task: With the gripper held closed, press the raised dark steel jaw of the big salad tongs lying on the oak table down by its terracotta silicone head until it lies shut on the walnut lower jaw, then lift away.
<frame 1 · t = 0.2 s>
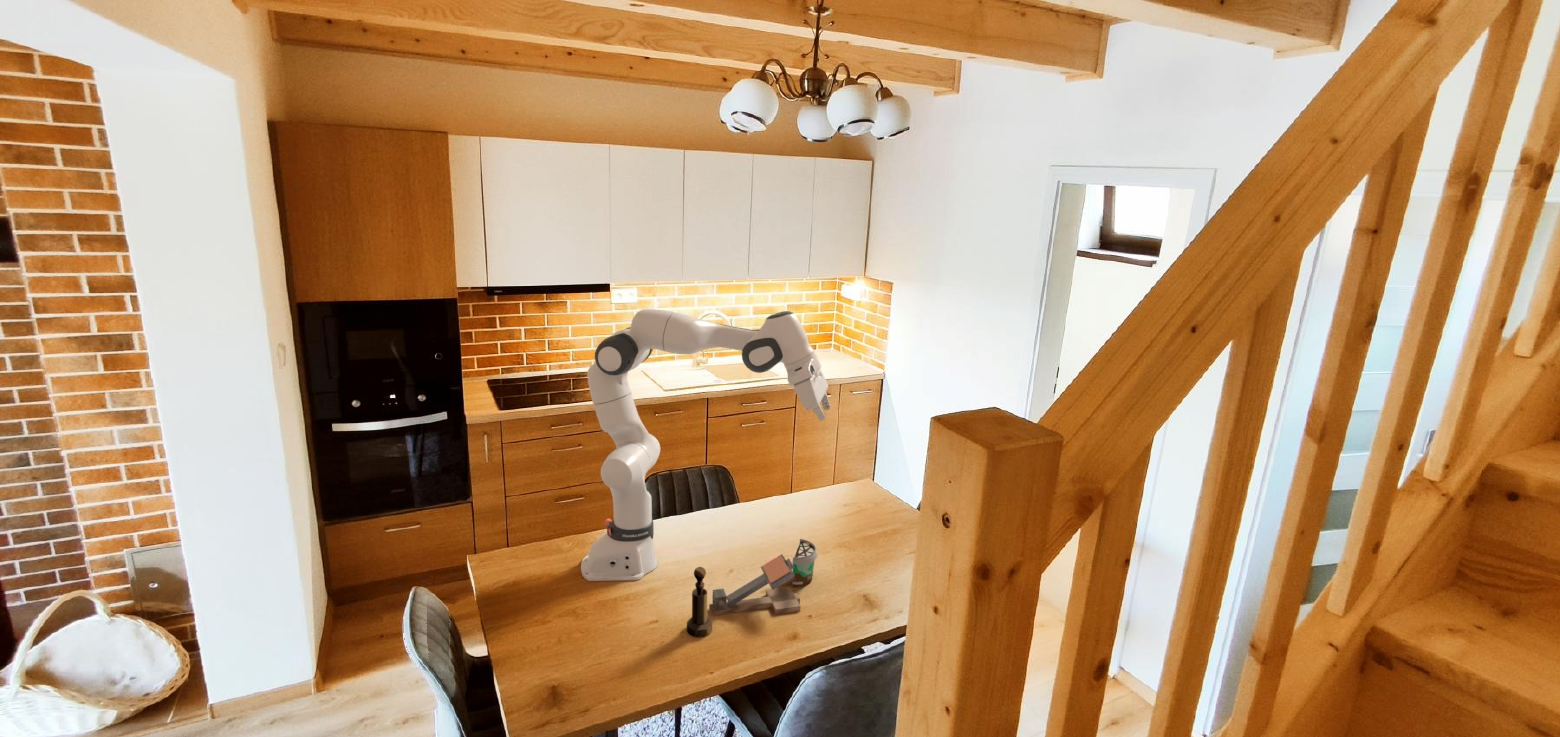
hand: (825, 414, 197), 54 cm above the table, tool tilted 30°, fingers open, 8 cm apart
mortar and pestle: (699, 630, 191), on the table
walnut jaw: (754, 606, 203), on the table
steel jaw: (759, 581, 201), point 7 cm above the table, hinge at 28.0°
food container: (805, 580, 217), on the table
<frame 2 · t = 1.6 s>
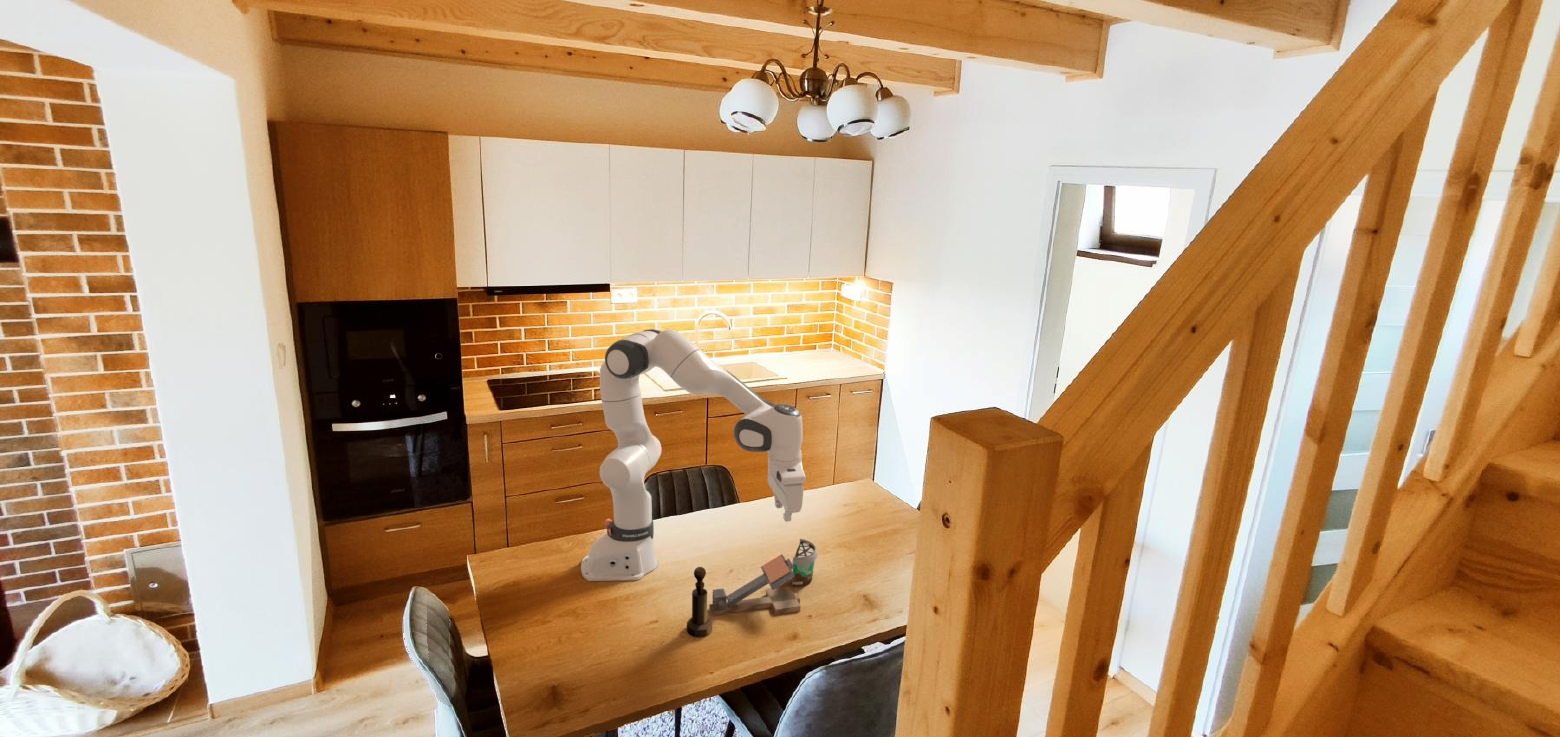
hand: (782, 513, 198), 27 cm above the table, tool pointing down, fingers open, 7 cm apart
nothing on the table moved.
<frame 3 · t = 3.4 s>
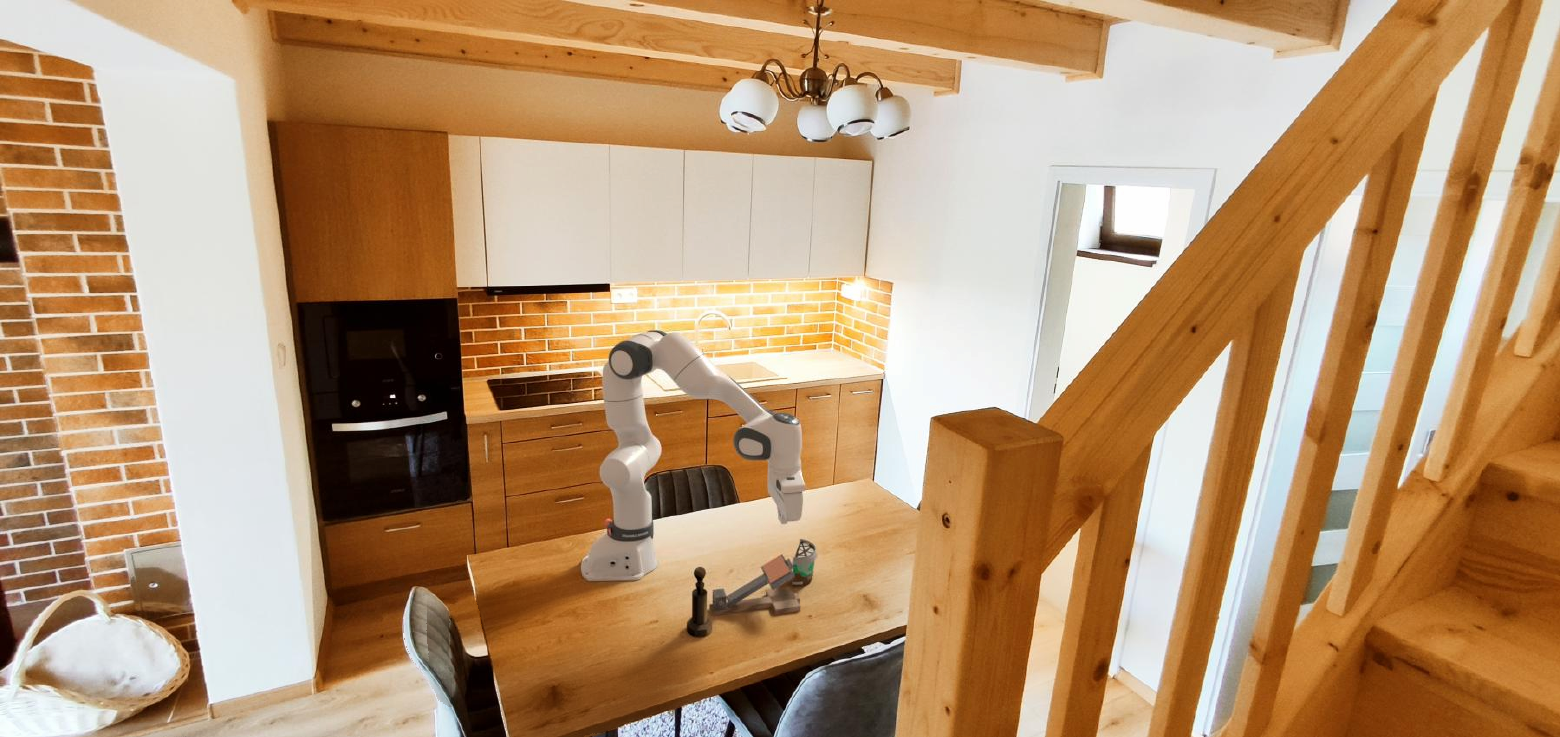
hand: (782, 521, 198), 25 cm above the table, tool pointing down, fingers closed
nothing on the table moved.
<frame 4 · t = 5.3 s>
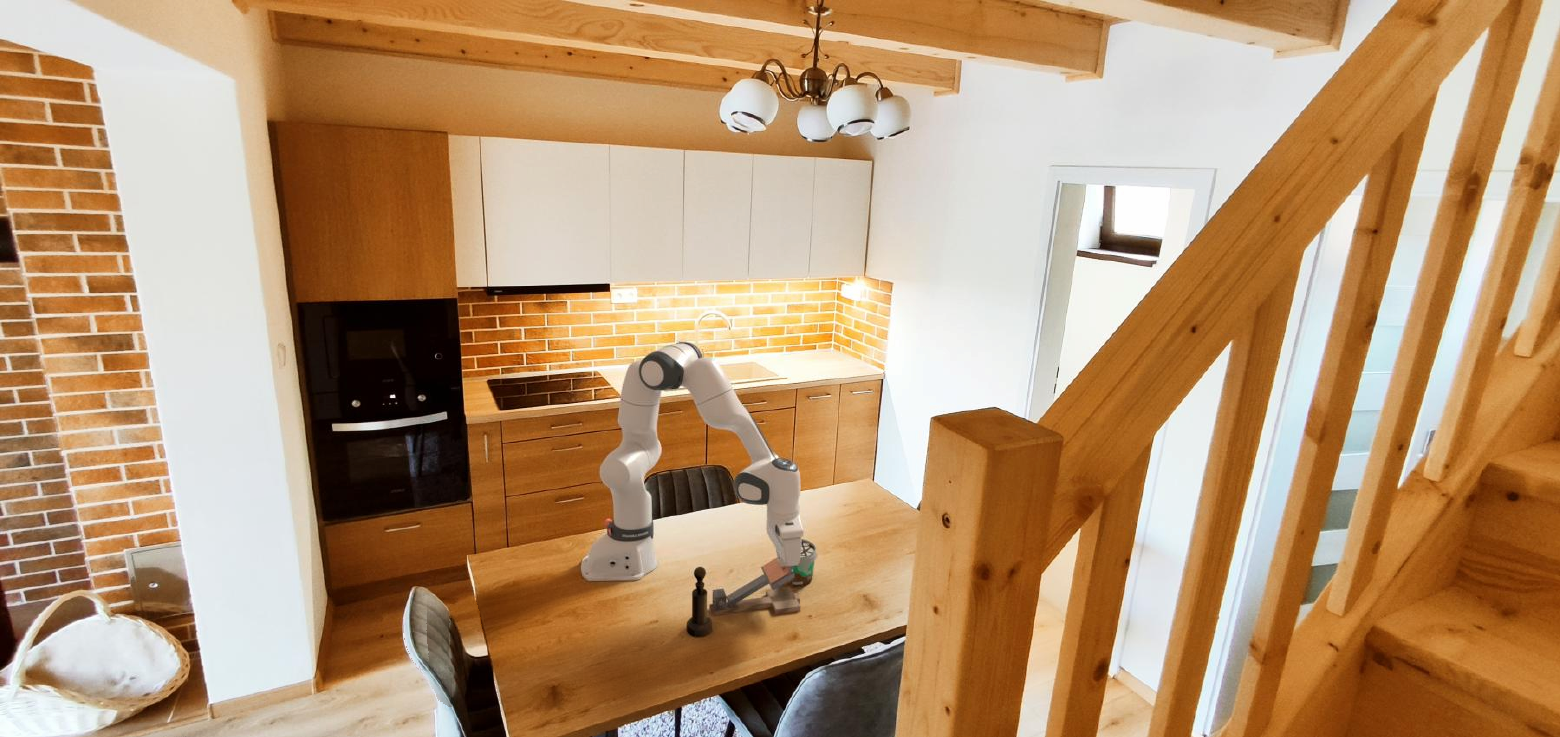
hand: (781, 564, 201), 12 cm above the table, tool pointing down, fingers closed, pressing on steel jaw
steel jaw: (760, 582, 201), point 7 cm above the table, hinge at 27.4°, touching gripper
everything else where it was.
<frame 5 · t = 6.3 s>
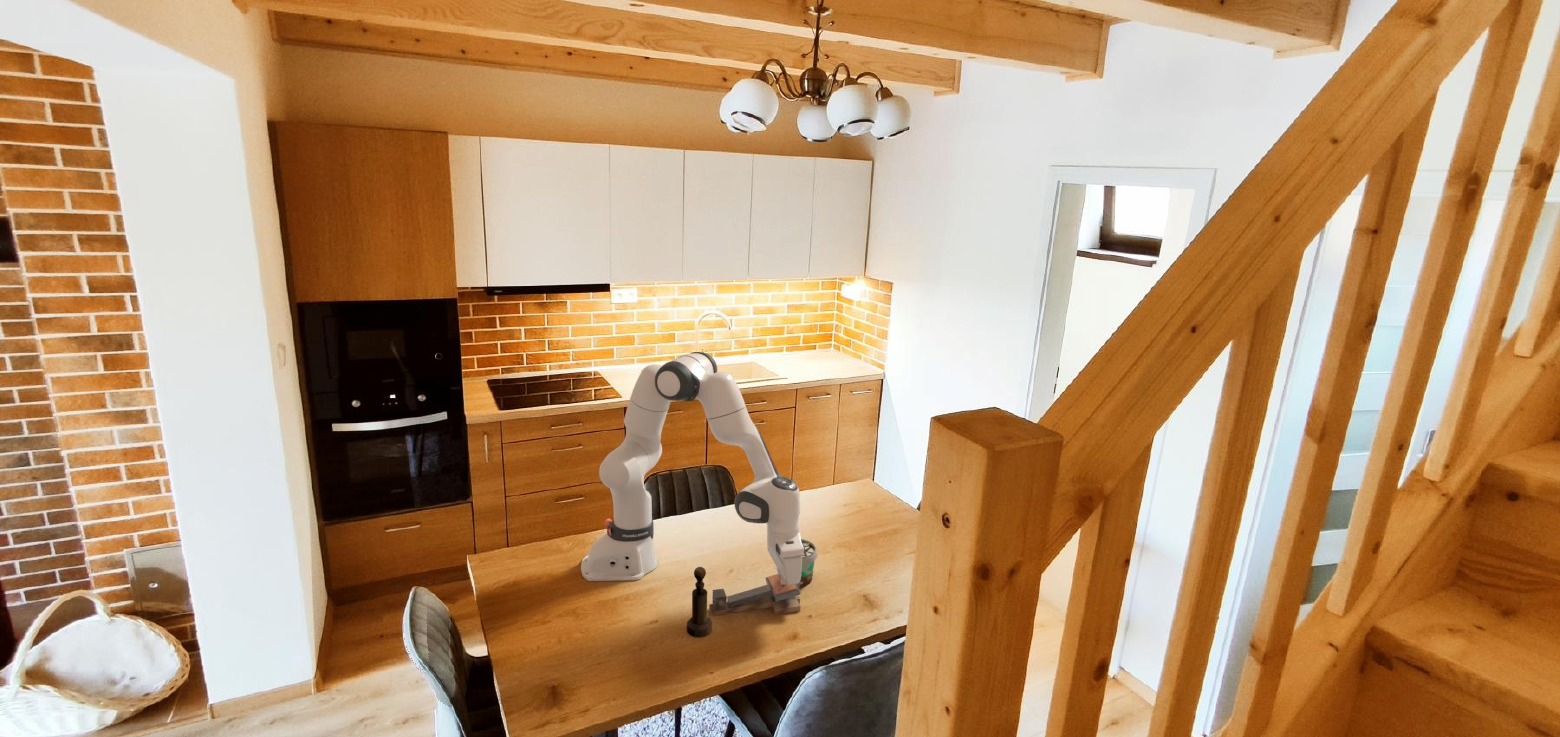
hand: (782, 582, 203), 7 cm above the table, tool pointing down, fingers closed, pressing on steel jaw
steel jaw: (763, 591, 202), point 4 cm above the table, hinge at 10.4°, touching gripper
everything else where it was.
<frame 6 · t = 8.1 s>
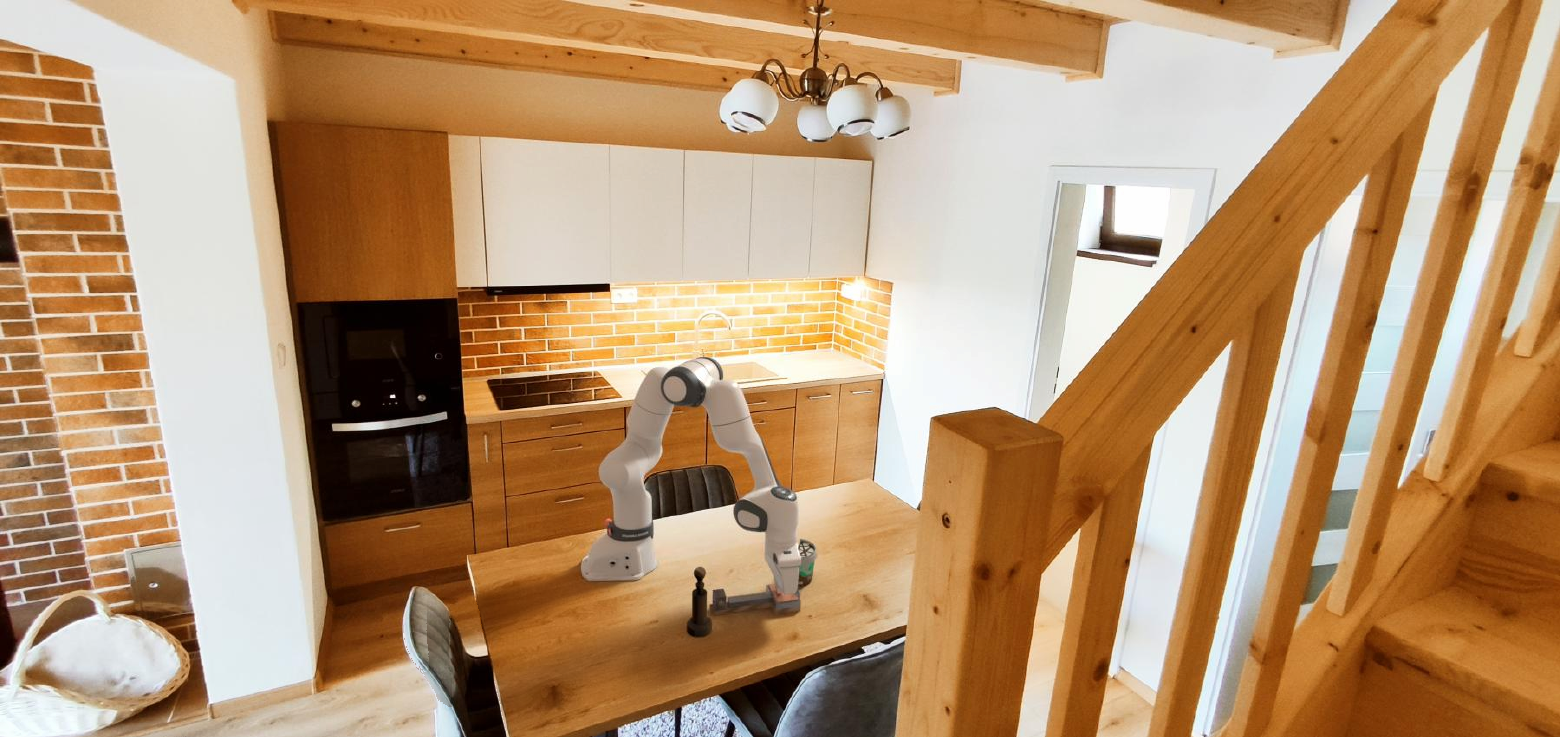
hand: (779, 590, 204), 4 cm above the table, tool pointing down, fingers closed
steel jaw: (763, 597, 203), point 2 cm above the table, hinge at -0.3°, touching walnut jaw
everything else where it was.
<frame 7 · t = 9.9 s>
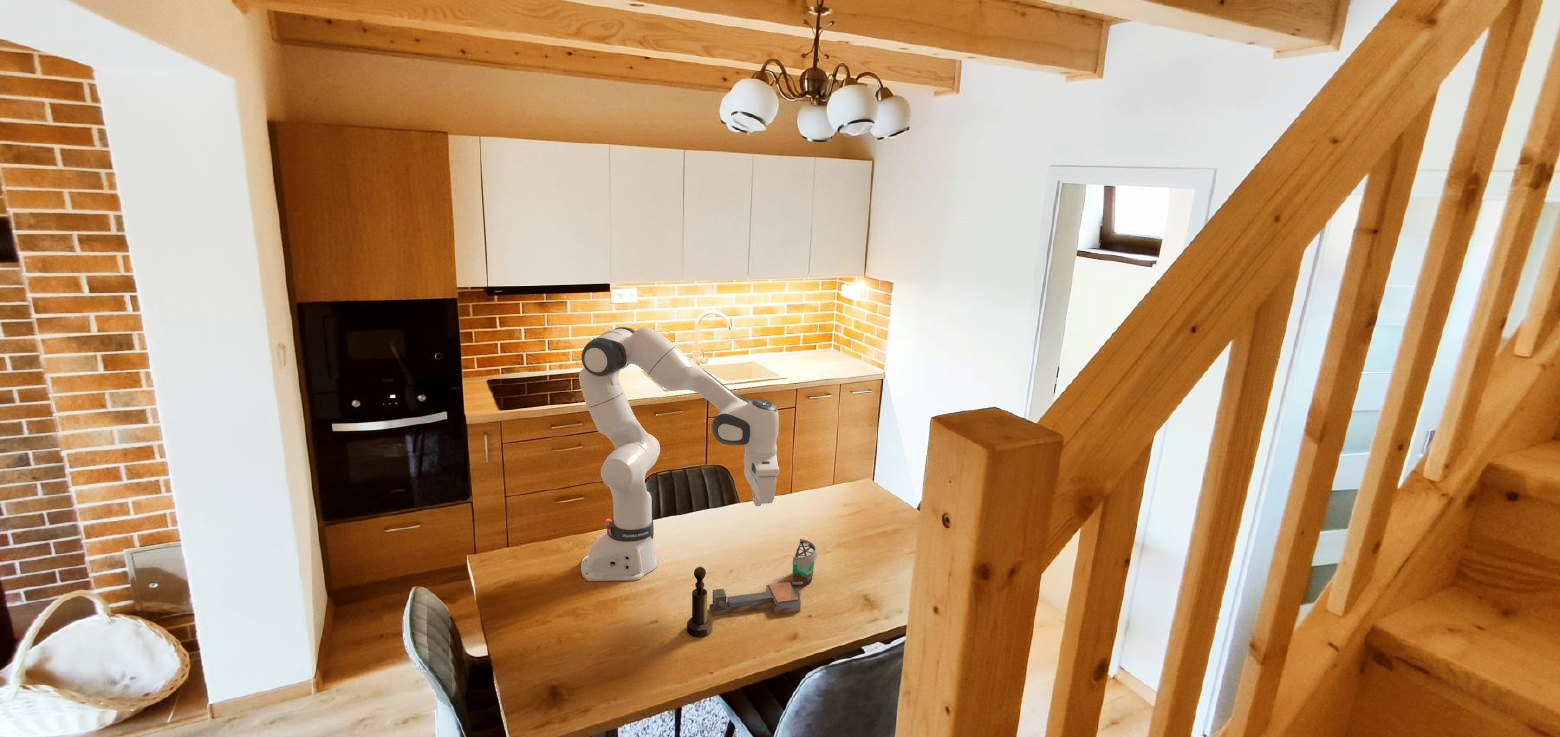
hand: (756, 504, 206), 26 cm above the table, tool pointing down, fingers closed
nothing on the table moved.
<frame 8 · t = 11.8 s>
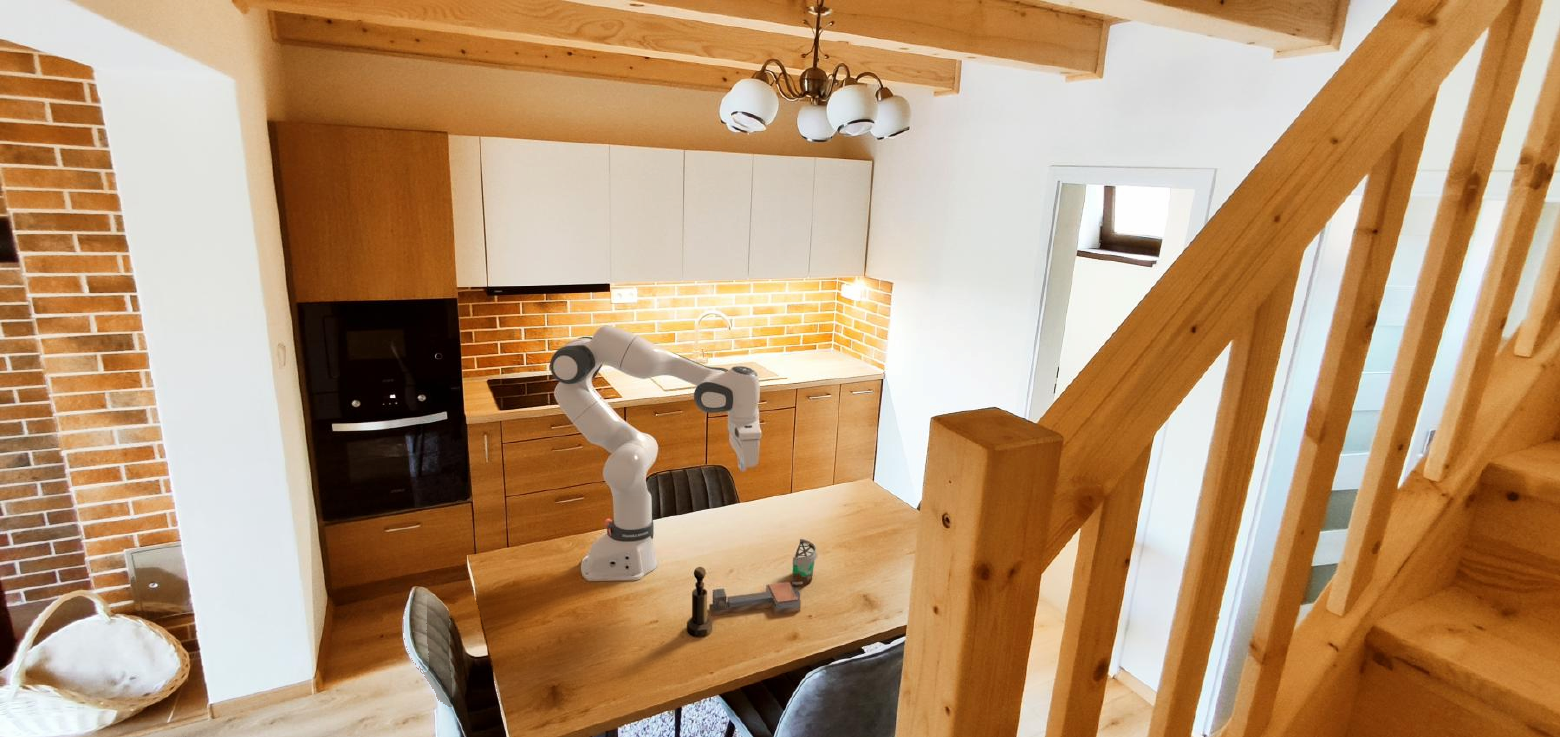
hand: (742, 469, 211), 33 cm above the table, tool pointing down, fingers closed
nothing on the table moved.
at the end: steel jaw at +0° (first picture: +28°) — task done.
